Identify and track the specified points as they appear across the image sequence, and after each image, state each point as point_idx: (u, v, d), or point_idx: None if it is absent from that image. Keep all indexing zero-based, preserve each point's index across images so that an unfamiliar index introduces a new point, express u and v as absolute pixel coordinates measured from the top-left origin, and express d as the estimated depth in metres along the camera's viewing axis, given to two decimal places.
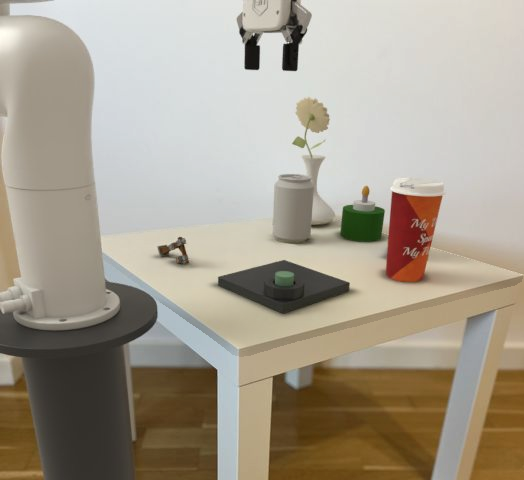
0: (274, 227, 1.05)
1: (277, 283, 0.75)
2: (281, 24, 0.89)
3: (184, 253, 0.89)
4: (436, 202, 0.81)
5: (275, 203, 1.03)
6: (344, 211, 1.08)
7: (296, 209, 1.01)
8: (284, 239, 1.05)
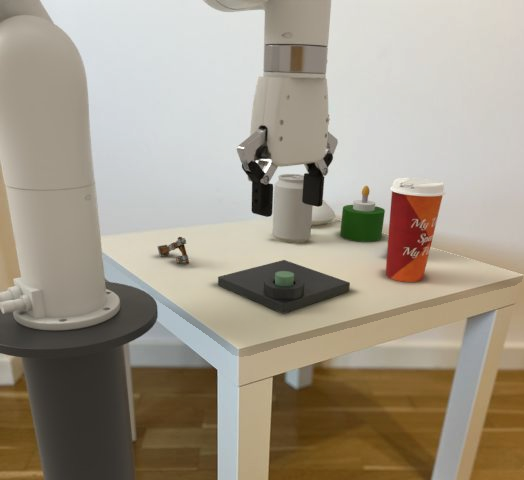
0: (274, 227, 1.05)
1: (277, 283, 0.75)
2: None
3: (184, 253, 0.89)
4: (436, 202, 0.81)
5: (275, 203, 1.03)
6: (344, 211, 1.08)
7: (296, 209, 1.01)
8: (284, 239, 1.05)
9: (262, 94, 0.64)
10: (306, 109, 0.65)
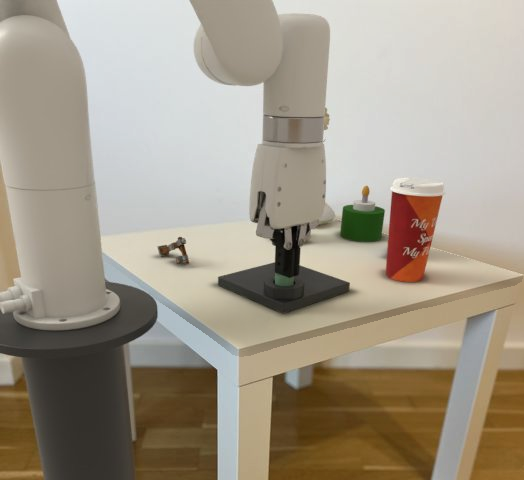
0: None
1: (277, 283, 0.75)
2: (250, 218, 0.70)
3: (184, 253, 0.89)
4: (436, 202, 0.81)
5: None
6: (344, 211, 1.08)
7: None
8: None
9: (261, 162, 0.66)
10: (303, 175, 0.68)
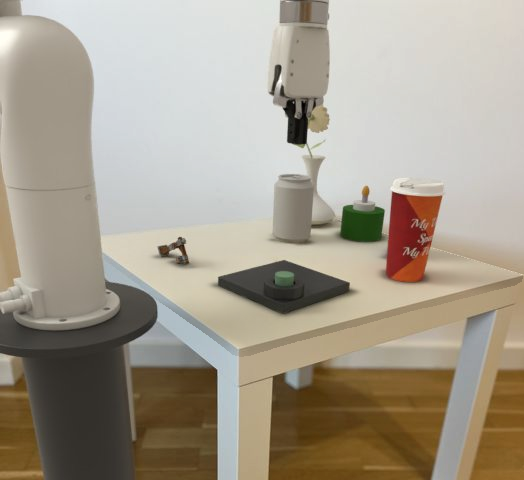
0: (274, 227, 1.05)
1: (277, 283, 0.75)
2: (268, 91, 0.88)
3: (184, 253, 0.89)
4: (436, 202, 0.81)
5: (275, 203, 1.03)
6: (344, 211, 1.08)
7: (296, 209, 1.01)
8: (284, 239, 1.05)
9: (278, 40, 0.84)
10: (311, 52, 0.85)
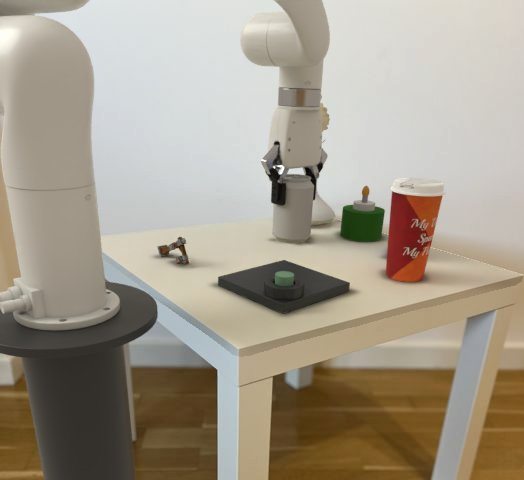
0: (274, 227, 1.05)
1: (277, 283, 0.75)
2: None
3: (184, 253, 0.89)
4: (436, 202, 0.81)
5: None
6: (344, 211, 1.08)
7: (296, 209, 1.01)
8: (284, 239, 1.05)
9: (276, 120, 0.95)
10: (306, 130, 0.97)
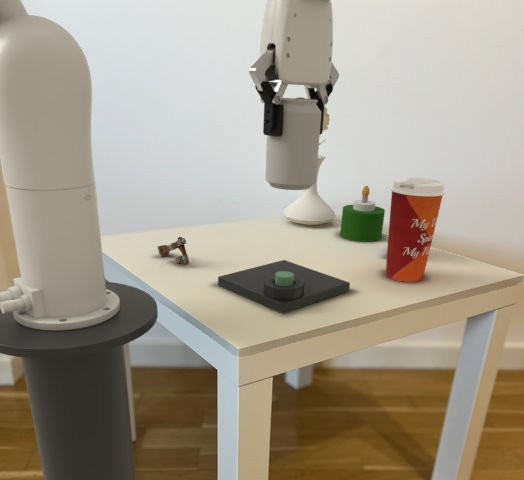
0: (268, 169, 0.79)
1: (277, 283, 0.75)
2: None
3: (184, 253, 0.89)
4: (436, 202, 0.81)
5: None
6: (344, 211, 1.08)
7: (297, 142, 0.75)
8: (280, 186, 0.78)
9: (271, 13, 0.69)
10: (312, 29, 0.70)
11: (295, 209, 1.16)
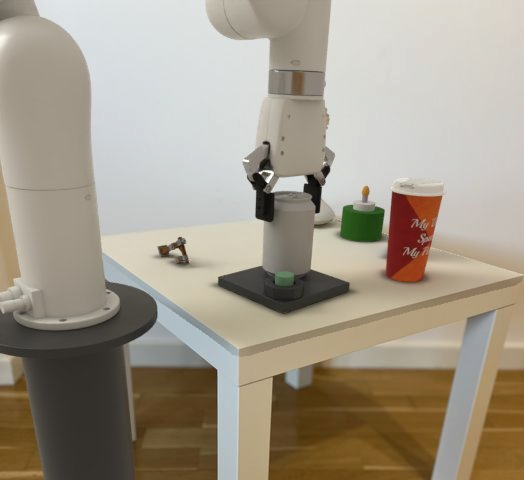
0: (264, 259, 0.82)
1: (277, 283, 0.75)
2: None
3: (184, 253, 0.89)
4: (436, 202, 0.81)
5: (265, 229, 0.80)
6: (344, 211, 1.08)
7: (292, 237, 0.78)
8: None
9: (266, 113, 0.72)
10: (305, 127, 0.73)
11: None
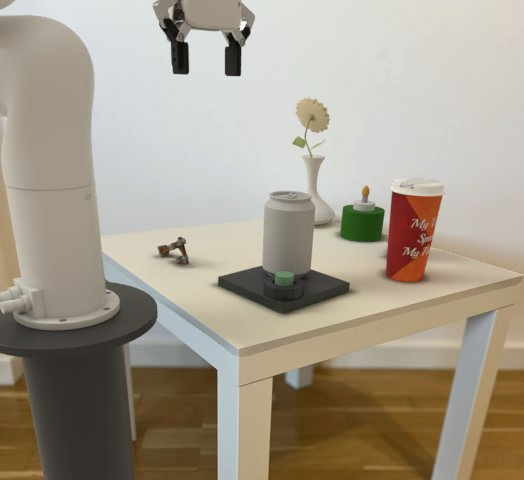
0: (264, 259, 0.82)
1: (277, 283, 0.75)
2: None
3: (184, 253, 0.89)
4: (436, 202, 0.81)
5: (265, 229, 0.80)
6: (344, 211, 1.08)
7: (292, 237, 0.78)
8: None
9: None
10: None
11: None
